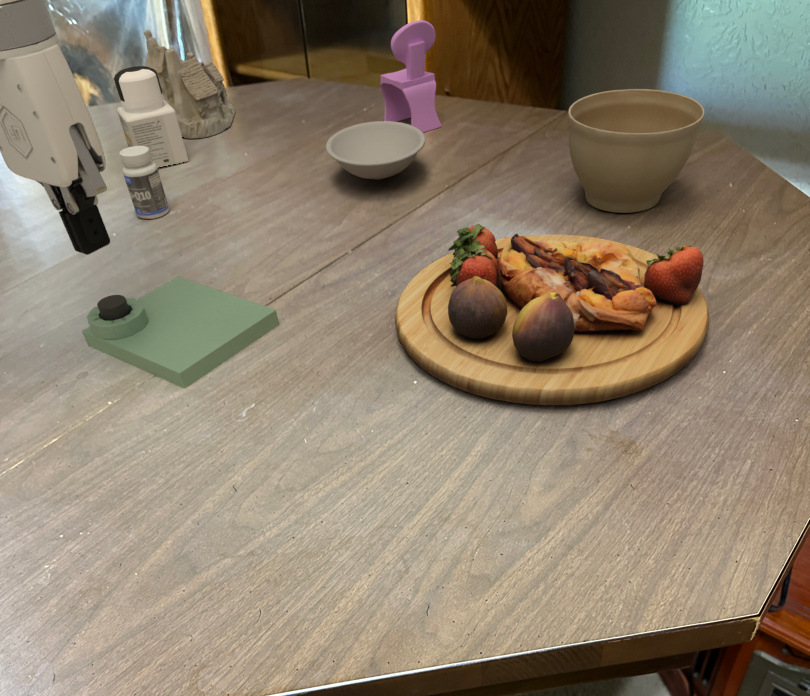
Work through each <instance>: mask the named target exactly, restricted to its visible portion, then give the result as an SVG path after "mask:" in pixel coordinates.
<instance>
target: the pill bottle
mask: <svg viewBox="0 0 810 696" xmlns="http://www.w3.org/2000/svg"><path fill="white" fill-rule="evenodd" d="M119 157H120V160H121V163H122V166H123V167H122V175H123V178H124V181H125V184H126V187H127V189H128V193H129V196H130V199H131V202H132V206H133V208H134V211H135V214H136V216H137V217H138V218H140V219H143V220H153V219H158V218H161V217H163V216H165V215H166V214H167V213H169V211H170V206H169V203H168V199H167V197H166V193H165V189H164V185H163V182H162V179H161V175H160V171H159V169H158V168H157V165H156V164H155V163H154V162H152V161H151V160H152V158H151V154H150V150H149V148H148V147H145V146H133V147H129V146H127V147H126V148H125V147H124V148H123V149H121V150H120V151H119Z"/></svg>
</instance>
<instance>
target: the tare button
mask: <svg viewBox="0 0 810 696" xmlns="http://www.w3.org/2000/svg"><path fill="white" fill-rule="evenodd" d="M96 306H98V309H99V311H100V314H101V316H102V318H103V320H105V321H113V320H117V319H121V318H123V317H125V316H127V315H129V314H130V309H129V306H128V303H127V301H126V297H125V296H124V295H122V294H111V295H107V296H104V297H102V298H101V299H100V300H98V302H97V303H96Z"/></svg>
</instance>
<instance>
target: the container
mask: <svg viewBox="0 0 810 696" xmlns="http://www.w3.org/2000/svg"><path fill="white" fill-rule="evenodd" d="M113 81H114V85H115V87H116V91H117V94H118V97H119V101H120V104H121V106H119V107H117V109H116V112H117V116H118V118H119V121H120V124H121V128H122V131H123V134H124V138H125V140H126V143H127V147H133V146H145V147H148V148H149V150H150V154H151V158H152V160H151V161H152V162H154V163H155V164H156V165H157V168H158V167H163V166H167V167H169V166H168V165H171V166H174V165H173V164H176V165H180V164H184V163H187V162H188V161H189V157H188V154H187V150H186V146H185V143H184V138H182V134H181V131H180V127H179V123H178V119H177V116H176V112H175V110H174V109H173V108H172V107H171V106H170V105H169V104H168V103H167V102H166V101H165V100H164V96H163V93H162V89H161V85H160V82H159V78H158V74H157V72H156V71H155V70H154V69H153V68H150V67H147V66H145V65H138V66H137V65H135V66H129V67H126V68H123V69H121V70H119V71H118V72H117V73H116V74H115V75H114V77H113ZM183 162H184V163H183ZM179 163H180V164H179ZM163 168H164V167H163Z"/></svg>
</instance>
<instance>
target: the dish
mask: <svg viewBox="0 0 810 696" xmlns="http://www.w3.org/2000/svg"><path fill="white" fill-rule="evenodd" d="M425 144H426V136H425V134H424V132H422V131H421V130H419V129H418V128H416V127H414V126H412V125H411V124H409V123H404V122H400V121H397V122H392V121H384V120H381V121H380V120H379V121H378V120H377V121H368V122H361V123H357V124H354V125H350V126H347V127H345V128H343V129H340V130H339V131H337V132H335V133H333V135H331V136H330V137H329V138H328V140H327V141H326V144H325V150H326V153H327V154H328V155H329V157H330V158H332V159H333V160H335V161H336V163H338V164H339V165H340V166H341V168H342V169H344V170H345V171H347V173H350V174H352V175H353V176H356V177H358V178H362V179H368V180H383V179H386V178H390V177H393V176H395V175H397V174H399V173H401V172H402V171H404V170H405V169H406V168H407V167H408V166H410V164H411V163H412V162H413V161H414V160H415V158H416V157H417V155H418V154H419V152H420V151H421V150H422V149H423V148H424V147H425Z"/></svg>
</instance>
